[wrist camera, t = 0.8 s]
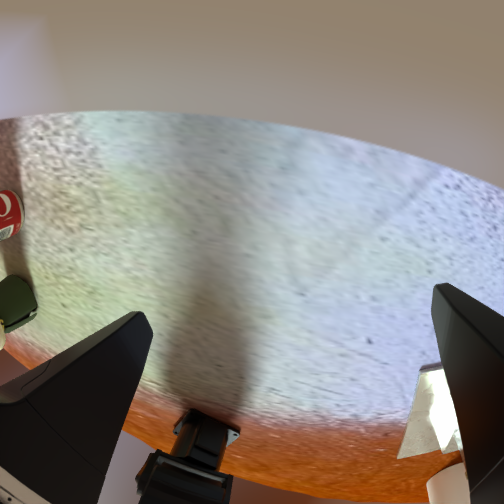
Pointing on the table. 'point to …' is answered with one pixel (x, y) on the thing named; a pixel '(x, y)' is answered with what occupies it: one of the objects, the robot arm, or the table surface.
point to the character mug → (14, 305)
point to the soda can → (10, 214)
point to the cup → (449, 486)
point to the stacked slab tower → (431, 418)
